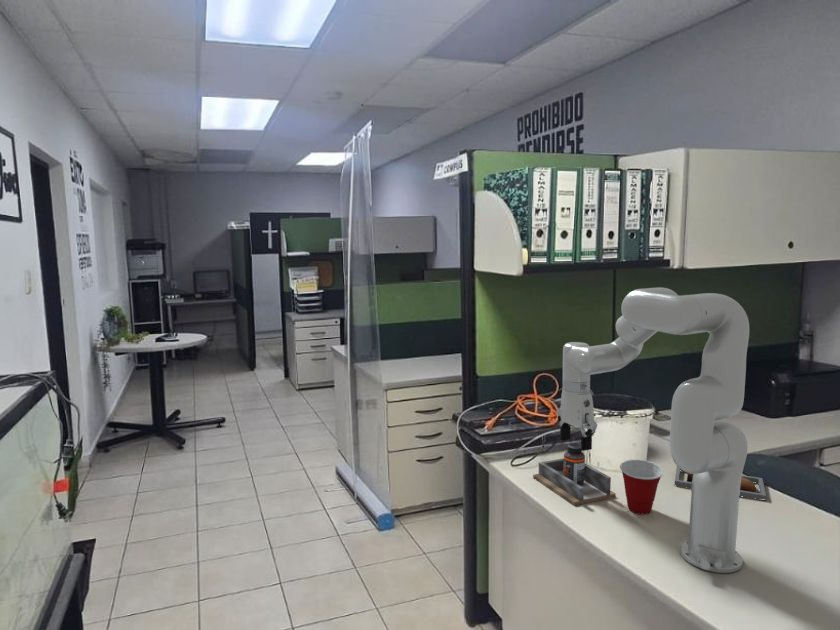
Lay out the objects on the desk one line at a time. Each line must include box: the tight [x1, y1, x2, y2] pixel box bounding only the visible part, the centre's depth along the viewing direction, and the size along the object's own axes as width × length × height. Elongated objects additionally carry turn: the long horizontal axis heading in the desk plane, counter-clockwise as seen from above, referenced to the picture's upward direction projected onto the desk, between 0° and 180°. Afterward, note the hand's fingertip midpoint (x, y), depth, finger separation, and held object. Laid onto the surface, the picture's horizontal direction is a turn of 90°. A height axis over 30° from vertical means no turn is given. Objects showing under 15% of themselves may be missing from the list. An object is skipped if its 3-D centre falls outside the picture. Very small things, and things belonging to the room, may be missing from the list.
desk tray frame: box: [673, 465, 767, 500], centre depth 172 cm, size 13×23×2 cm, turn 64°
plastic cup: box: [619, 458, 664, 515], centre depth 156 cm, size 11×11×12 cm
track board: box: [532, 457, 617, 507], centre depth 171 cm, size 20×14×6 cm
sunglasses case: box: [686, 473, 757, 493], centre depth 172 cm, size 18×7×7 cm
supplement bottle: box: [563, 443, 586, 486], centre depth 170 cm, size 6×6×11 cm
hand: (575, 444), depth 169 cm, fingers open, 9 cm apart
